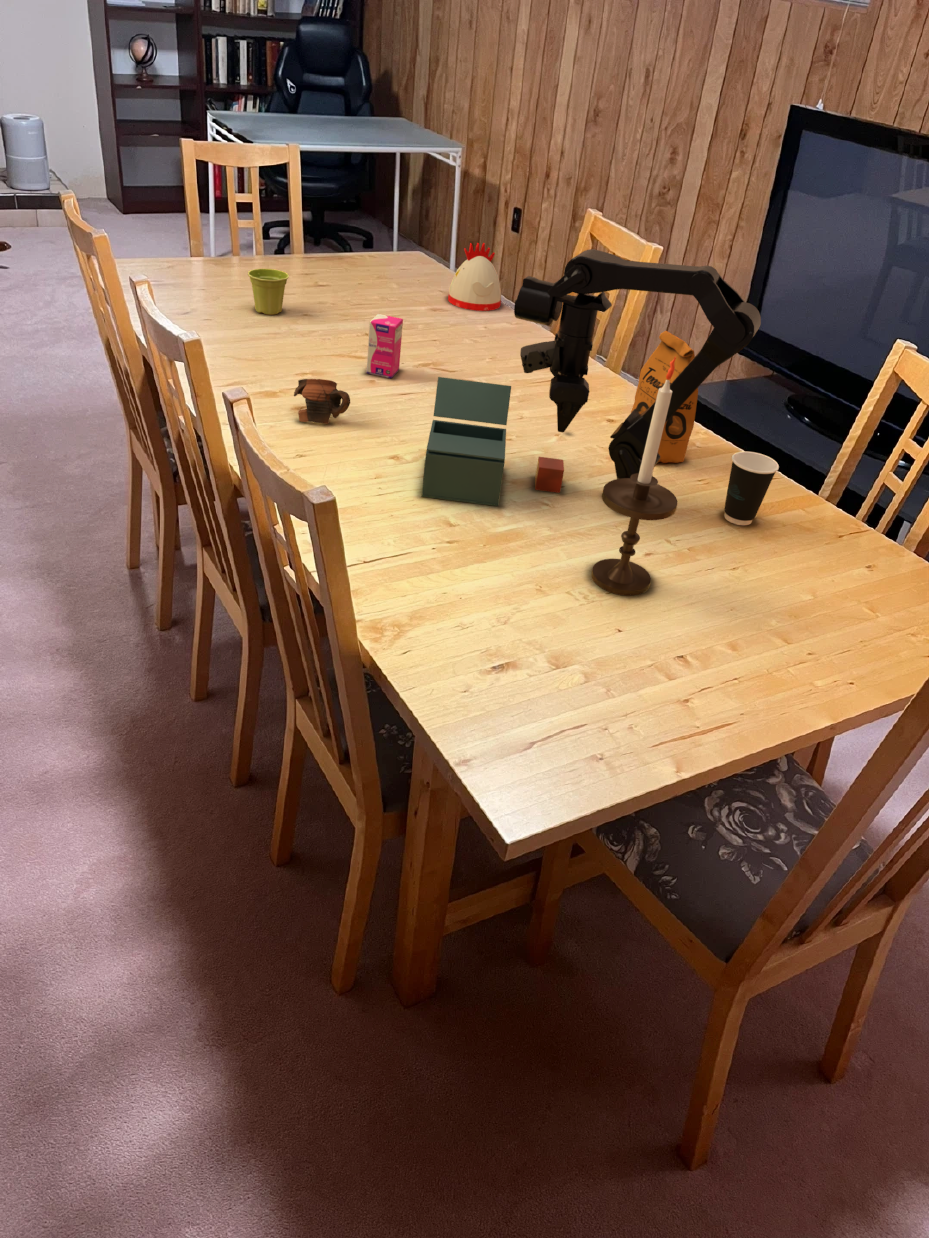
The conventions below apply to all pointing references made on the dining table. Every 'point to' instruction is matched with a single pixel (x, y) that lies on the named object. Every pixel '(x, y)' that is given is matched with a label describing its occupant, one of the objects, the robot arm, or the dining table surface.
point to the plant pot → (268, 289)
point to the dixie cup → (748, 485)
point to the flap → (472, 401)
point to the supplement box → (384, 345)
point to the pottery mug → (321, 400)
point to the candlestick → (637, 507)
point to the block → (549, 474)
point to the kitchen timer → (476, 282)
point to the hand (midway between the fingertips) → (560, 421)
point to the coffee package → (653, 379)
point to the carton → (464, 463)
